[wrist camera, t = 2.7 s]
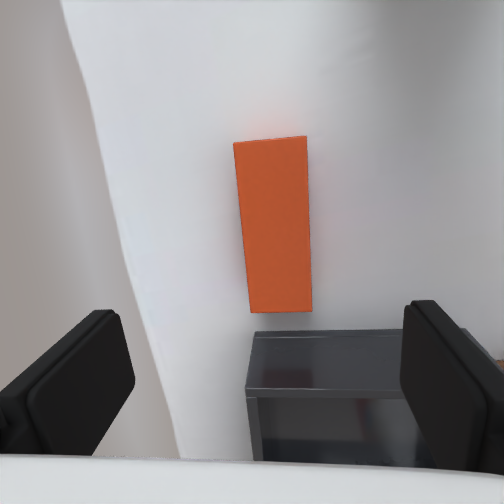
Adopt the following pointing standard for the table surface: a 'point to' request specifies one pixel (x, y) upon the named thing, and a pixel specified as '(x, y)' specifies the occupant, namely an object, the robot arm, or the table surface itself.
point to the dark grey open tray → (333, 399)
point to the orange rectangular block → (275, 223)
